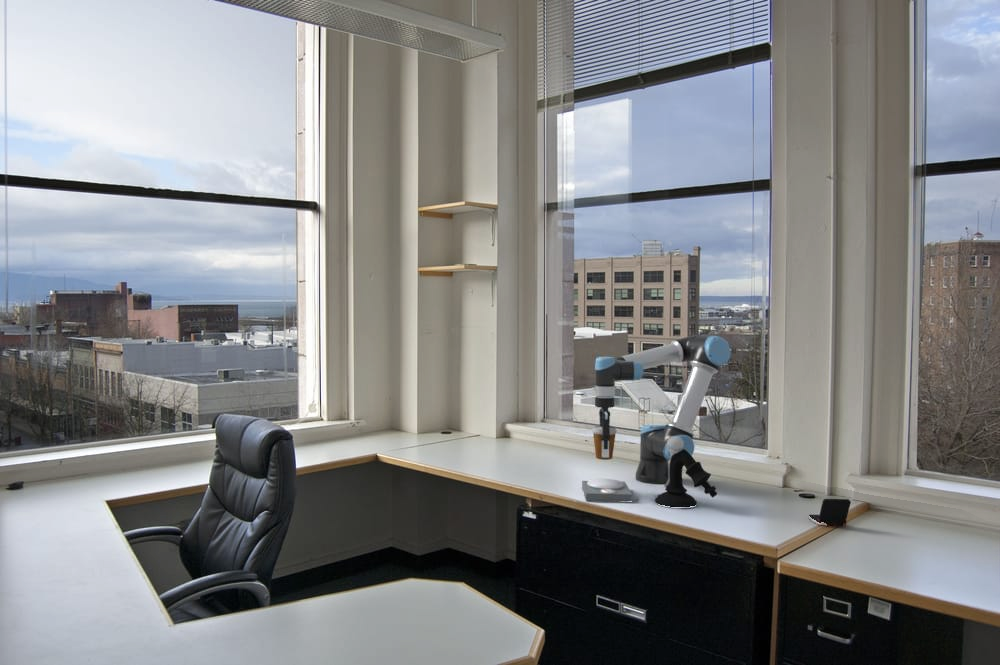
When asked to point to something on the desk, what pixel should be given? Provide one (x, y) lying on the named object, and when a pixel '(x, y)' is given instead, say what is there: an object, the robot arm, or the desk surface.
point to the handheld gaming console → (833, 512)
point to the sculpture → (674, 484)
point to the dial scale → (606, 490)
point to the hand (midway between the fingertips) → (604, 454)
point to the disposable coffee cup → (598, 443)
